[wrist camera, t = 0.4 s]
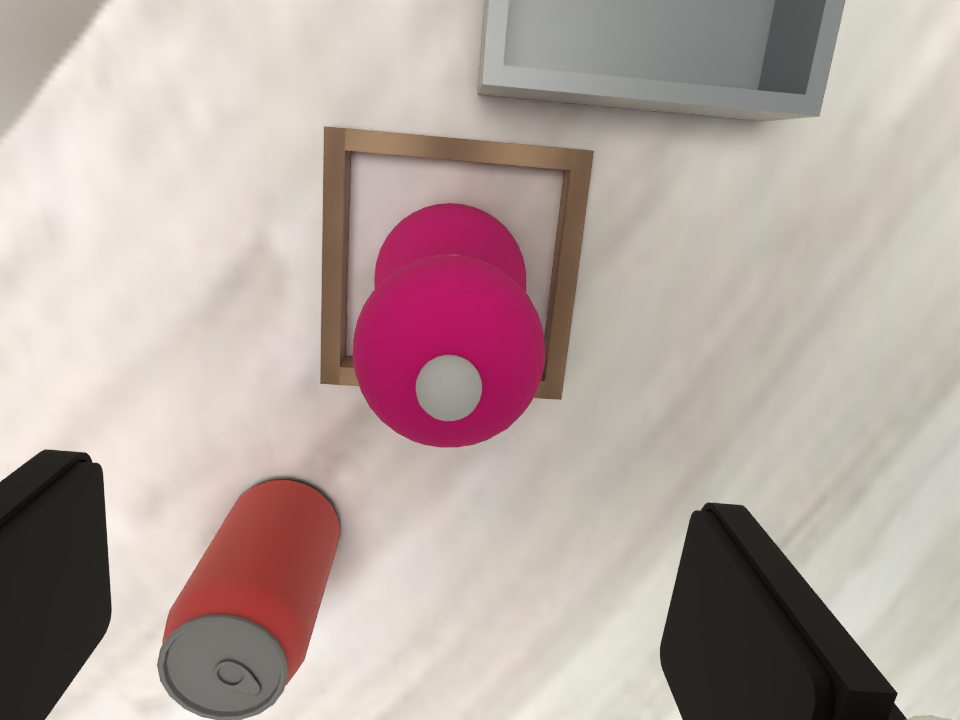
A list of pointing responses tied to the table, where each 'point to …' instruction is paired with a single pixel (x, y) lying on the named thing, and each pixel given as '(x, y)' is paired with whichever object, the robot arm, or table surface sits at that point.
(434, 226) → the pepper mill
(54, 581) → the robot arm
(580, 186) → the brown wooden picture frame
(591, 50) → the bin
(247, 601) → the beer can
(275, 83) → the table surface
